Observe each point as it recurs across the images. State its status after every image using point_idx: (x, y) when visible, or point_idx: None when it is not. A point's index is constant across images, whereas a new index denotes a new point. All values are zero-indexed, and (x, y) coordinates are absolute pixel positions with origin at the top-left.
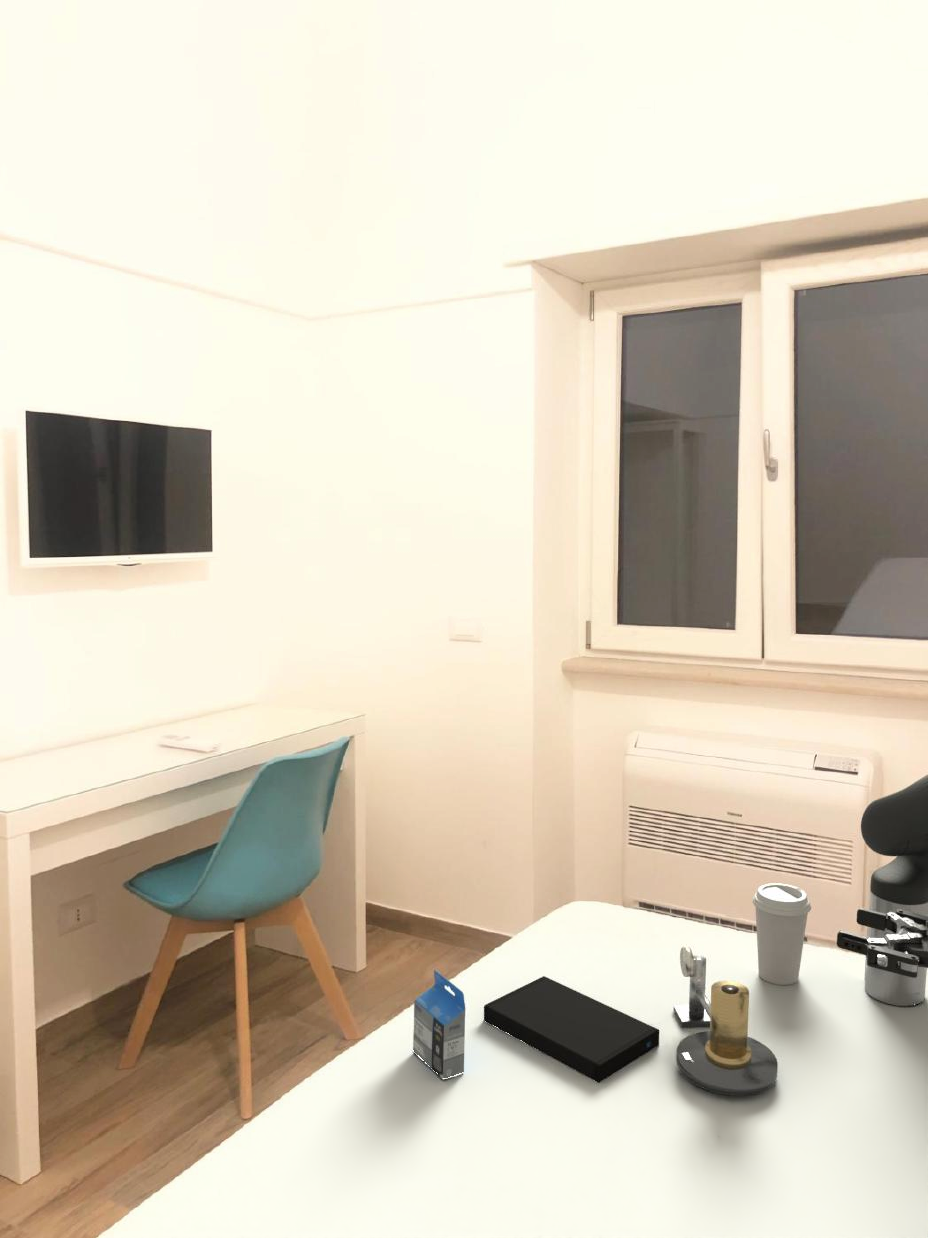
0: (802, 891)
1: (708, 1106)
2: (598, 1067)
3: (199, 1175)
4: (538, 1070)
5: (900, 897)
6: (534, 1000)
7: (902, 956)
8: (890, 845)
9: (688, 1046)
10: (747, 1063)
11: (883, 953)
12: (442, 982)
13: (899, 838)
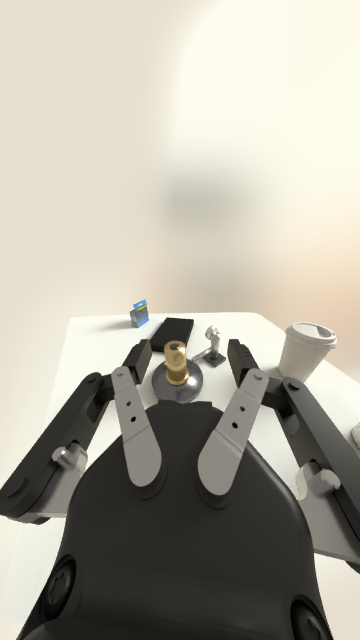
0: (333, 335)
1: (146, 384)
2: None
3: (87, 316)
4: (147, 337)
5: None
6: (177, 322)
7: (33, 446)
8: None
9: None
10: (173, 385)
11: (70, 400)
12: (142, 302)
13: None
